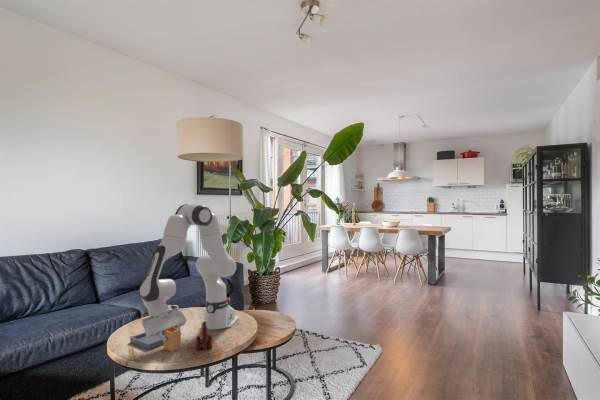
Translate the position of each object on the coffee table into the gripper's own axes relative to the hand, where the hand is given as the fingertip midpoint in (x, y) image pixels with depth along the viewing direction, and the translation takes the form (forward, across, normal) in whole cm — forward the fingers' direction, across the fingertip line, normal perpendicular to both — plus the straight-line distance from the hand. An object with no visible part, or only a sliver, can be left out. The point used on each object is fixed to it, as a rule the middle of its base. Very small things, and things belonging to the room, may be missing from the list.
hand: (172, 338), depth 164 cm
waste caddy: (+3, 0, +4) cm, 5 cm away
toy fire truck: (+11, +10, -3) cm, 15 cm away
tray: (-8, 0, +16) cm, 17 cm away
